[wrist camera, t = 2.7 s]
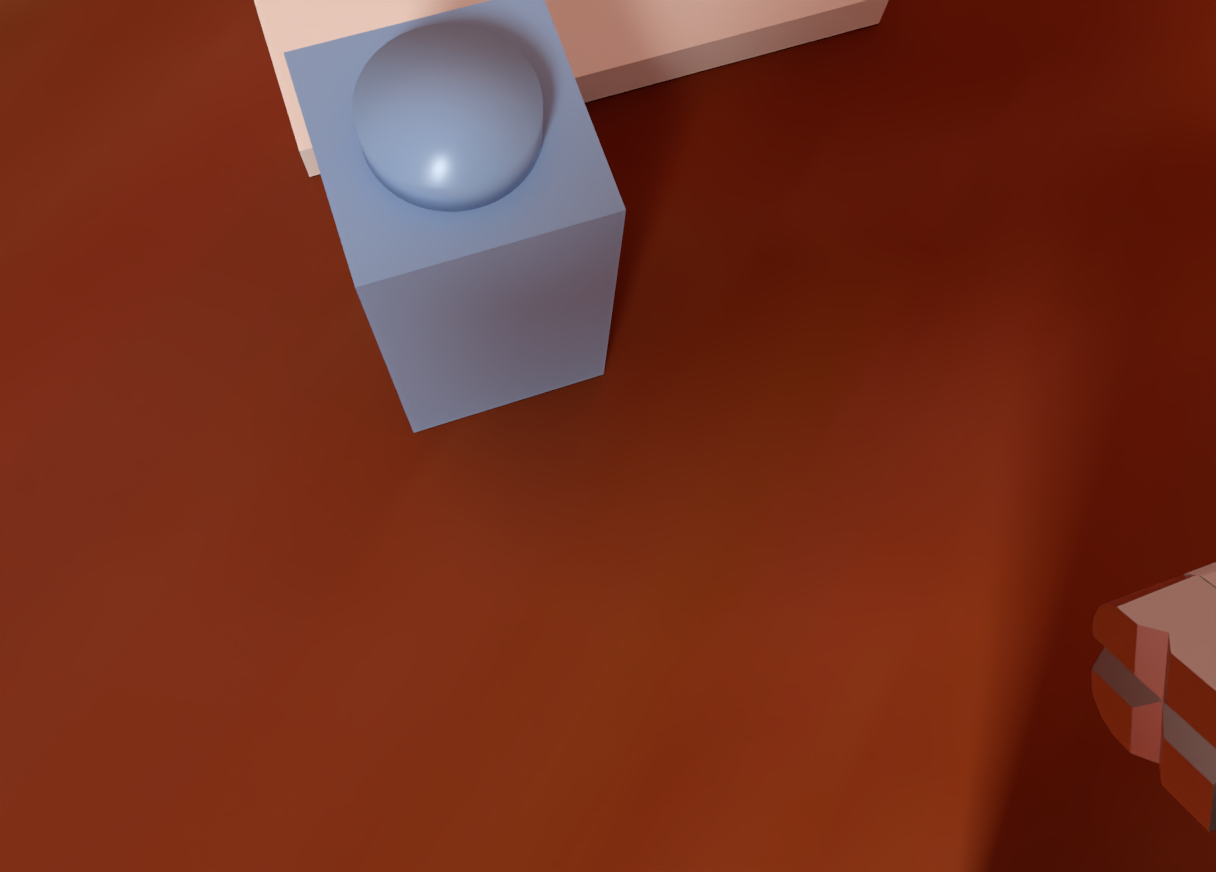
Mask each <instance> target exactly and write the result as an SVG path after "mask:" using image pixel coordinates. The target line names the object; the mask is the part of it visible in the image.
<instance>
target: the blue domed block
mask: <svg viewBox="0 0 1216 872" xmlns="http://www.w3.org/2000/svg"><path fill="white" fill-rule="evenodd" d="M284 56H285V59H286V62H287V66H288V69H289V72H290V76H291V79H292V82H293V85H294V89H295V92H296V95H297V98H298V102H299V105H300V108H301V112H302V115H303V118H304V121H305V125H306V128H307V131H308V135H309V138H310V141H311V144H312V148H313V151H314V154H315V157H316V161H317V164H318V167H319V171H320V174H321V177H322V180H323V184H324V187H325V190H326V193H327V197H328V200H329V203H330V207H331V210H332V213H333V216H334V220H335V223H336V226H337V230H338V233H339V236H340V239H341V243H342V246H343V249H344V252H345V256H346V259H347V262H348V266H349V269H350V272H351V275H352V279H353V282H354V285H355V288H356V291H357V293H358V296H359V298H360V301H361V303H362V306H363V308H364V311H365V313H366V316H367V318H368V321H369V323H370V326H371V328H372V331H373V333H374V335H375V338H376V340H377V343H378V345H379V348H380V350H381V353H382V355H383V358H384V360H385V363H386V365H387V368H388V370H389V373H390V375H391V378H392V380H393V383H394V385H395V388H396V390H397V393H398V395H399V398H400V400H401V403H402V405H403V408H404V410H405V413H406V415H407V417H408V420H409V422H410V425H411V427H412V430H413V432H414V433H415V432H418V431H421V430H424V429H428V428H431V427H434V426H437V425H441V424H444V423H447V422H450V421H454V420H457V419H460V418H463V417H467V416H470V415H473V414H476V413H480V412H483V411H486V410H489V409H493V408H496V407H499V406H502V405H506V404H509V403H512V402H515V401H519V400H522V399H525V398H528V397H531V396H535V395H538V394H541V393H544V392H548V391H551V390H554V389H557V388H561V387H564V386H567V385H570V384H574V383H577V382H580V381H583V380H587V379H590V378H593V377H596V376H600V375H603V374H604V368H605V361H606V353H607V346H608V339H609V331H610V324H611V317H612V309H613V302H614V295H615V287H616V280H617V272H618V265H619V258H620V250H621V243H622V236H623V228H624V221H625V214H626V209H625V206H624V204H623V201H622V198H621V196H620V193H619V191H618V188H617V186H616V183H615V180H614V178H613V175H612V173H611V170H610V168H609V165H608V162H607V160H606V157H605V155H604V152H603V149H602V147H601V144H600V142H599V139H598V137H597V134H596V131H595V129H594V126H593V124H592V121H591V118H590V116H589V113H588V111H587V108H586V106H585V103H584V100H583V98H582V95H581V93H580V90H579V88H578V85H577V82H576V80H575V77H574V75H573V72H572V69H571V67H570V64H569V62H568V59H567V57H566V54H565V51H564V49H563V46H562V44H561V41H560V39H559V36H558V33H557V31H556V28H555V26H554V23H553V20H552V18H551V15H550V13H549V10H548V8H547V5H546V2H545V0H490V1H486V2H482V3H478V4H474V5H470V6H466V7H462V8H458V9H454V10H450V11H446V12H442V13H438V14H435V15H431V16H427V17H423V18H419V19H415V20H411V21H407V22H403V23H399V24H395V25H391V26H387V27H383V28H379V29H375V30H371V31H367V32H363V33H359V34H355V35H351V36H347V37H343V38H339V39H336V40H332V41H328V42H324V43H320V44H316V45H312V46H308V47H304V48H300V49H296V50H292V51H288V52H284Z"/></svg>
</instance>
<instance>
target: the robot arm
mask: <svg viewBox="0 0 1216 872" xmlns="http://www.w3.org/2000/svg"><path fill="white" fill-rule="evenodd" d="M1092 636H1093V637H1094V638H1095V639H1096V640H1097V641H1099V642H1100V643H1101V644H1102V645H1103V646H1104V649H1103V651H1102V652H1101V654H1100V655H1099V657H1098V658H1097V660H1096V662H1095V663H1094V665H1093V666H1092V668H1091V675H1092V694H1093V697H1094V700H1095V702H1096V705H1097V708H1098V710H1099V713H1100V716H1101V718H1102V719H1103V721H1104V722H1105V724H1106V725H1107V727H1108V728H1109V730H1110V731H1111V733H1112V734H1113V736H1114V737H1115V738H1116V739H1117V740H1118V741H1119V742H1120V743H1121V744H1122V745H1123V746H1124V747H1125V748H1126V749H1127V750H1128V751H1129V752H1130V753H1131V754H1134V755H1137V756H1139V757H1142V758H1145V759H1148V760H1150V761H1153V762H1156V763H1159V770H1160V780H1161V785H1162V786H1163V787H1164V788H1165V789H1166V790H1167V791H1168V792H1169V793H1170V794H1171V795H1172V796H1173V797H1174V798H1175V799H1176V800H1177V801H1178V802H1179V803H1180V804H1181V805H1182V806H1183V807H1184V808H1185V809H1186V810H1187V811H1188V812H1189V813H1190V814H1191V815H1192V816H1193V817H1194V818H1195V819H1196V820H1197V821H1198V822H1199V823H1200V824H1201V825H1202V826H1203V827H1204V828H1205V829H1206V830H1207V831H1208V832H1211V831H1214V830H1216V562H1215V563H1212V564H1210V565H1207V566H1204V567H1201V568H1199V569H1196V570H1193V571H1191V572H1188V573H1186V574H1184V575H1183V576H1176V577H1174V578H1171V579H1168V580H1166V581H1163V582H1160V583H1158V584H1155V585H1152V586H1150V587H1147V588H1144V589H1142V590H1139V591H1137V592H1134V593H1131V594H1129V595H1126V596H1123V597H1121V598H1118V599H1115V600H1113V601H1110V602H1107V603H1105V604H1102V605H1100V606H1099V608H1098V609H1097V611H1096V613H1095V615H1094V616H1093V632H1092Z"/></svg>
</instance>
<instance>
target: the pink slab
mask: <svg viewBox="0 0 1216 872" xmlns="http://www.w3.org/2000/svg"><path fill="white" fill-rule="evenodd" d="M486 1H490V0H254V2H255V6H256V9H257V12H258V16H259V19H260V22H261V26H262V29H263V32H264V36H265V39H266V42H267V46H268V49H269V52H270V56H271V59H272V62H273V66H274V69H275V72H276V76H277V79H278V82H279V85H280V89H281V92H282V95H283V99H284V102H285V105H286V109H287V112H288V115H289V119H290V122H291V125H292V129H293V132H294V135H295V139H296V142H297V145H298V149H299V152H300V154H301V157H302V159H303V162H304V164H305V167H306V169H307V172H308V174H309V176H310V177H311V176H314V175H318V174H320V171H319V167H318V164H317V161H316V157H315V154H314V151H313V148H312V144H311V141H310V138H309V135H308V131H307V128H306V125H305V121H304V118H303V115H302V112H301V108H300V105H299V102H298V98H297V95H296V92H295V89H294V85H293V82H292V79H291V76H290V72H289V69H288V66H287V62H286V59H285V56H284V52H288V51H292V50H296V49H300V48H304V47H308V46H312V45H316V44H320V43H324V42H328V41H332V40H336V39H339V38H343V37H347V36H351V35H355V34H359V33H363V32H367V31H371V30H375V29H379V28H383V27H387V26H391V25H395V24H399V23H403V22H407V21H411V20H415V19H419V18H423V17H427V16H431V15H435V14H438V13H442V12H446V11H450V10H454V9H458V8H462V7H466V6H470V5H474V4H478V3H482V2H486ZM888 1H889V0H545V2H546V5H547V8H548V10H549V13H550V15H551V18H552V20H553V23H554V26H555V28H556V31H557V33H558V36H559V39H560V41H561V44H562V46H563V49H564V51H565V54H566V57H567V59H568V62H569V64H570V67H571V69H572V72H573V75H574V77H575V80H576V82H577V85H578V88H579V90H580V93H581V95H582V98H583V100H584V103H585V102H589V101H592V100H596V99H600V98H604V97H607V96H611V95H615V94H618V93H622V92H626V91H630V90H633V89H637V88H641V87H644V86H648V85H652V84H655V83H659V82H663V81H667V80H670V79H674V78H678V77H681V76H685V75H689V74H693V73H696V72H700V71H704V70H707V69H711V68H715V67H718V66H722V65H726V64H730V63H733V62H737V61H741V60H744V59H748V58H752V57H756V56H759V55H763V54H767V53H770V52H774V51H778V50H781V49H785V48H789V47H793V46H796V45H800V44H804V43H807V42H811V41H815V40H819V39H822V38H826V37H830V36H833V35H837V34H841V33H845V32H848V31H852V30H856V29H859V28H863V27H867V26H870V25H874V24H878V23H879V21H880V19H881V17H882V15H883V12H884V10H885V8H886V6H887V3H888Z"/></svg>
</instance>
